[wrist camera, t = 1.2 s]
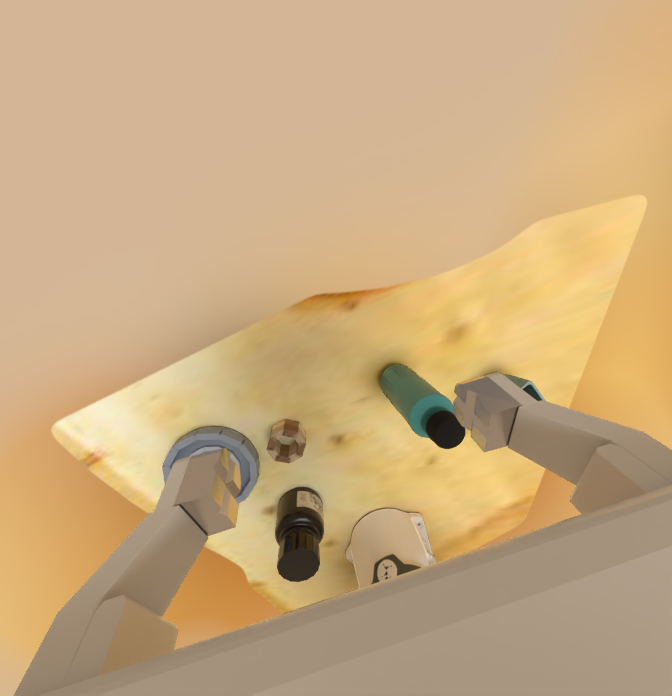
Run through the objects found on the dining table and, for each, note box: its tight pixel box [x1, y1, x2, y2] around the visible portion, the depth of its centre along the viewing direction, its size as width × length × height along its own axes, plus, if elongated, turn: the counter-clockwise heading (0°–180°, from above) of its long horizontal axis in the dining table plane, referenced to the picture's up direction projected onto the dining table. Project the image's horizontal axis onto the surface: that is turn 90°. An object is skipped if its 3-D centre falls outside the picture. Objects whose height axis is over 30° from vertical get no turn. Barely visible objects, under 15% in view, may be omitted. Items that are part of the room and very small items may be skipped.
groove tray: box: [162, 426, 259, 503], centre depth 48 cm, size 16×16×3 cm
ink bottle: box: [275, 488, 324, 582], centre depth 47 cm, size 10×9×12 cm
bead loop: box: [267, 419, 306, 463], centre depth 48 cm, size 6×6×4 cm
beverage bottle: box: [380, 364, 465, 449], centre depth 39 cm, size 6×7×20 cm
